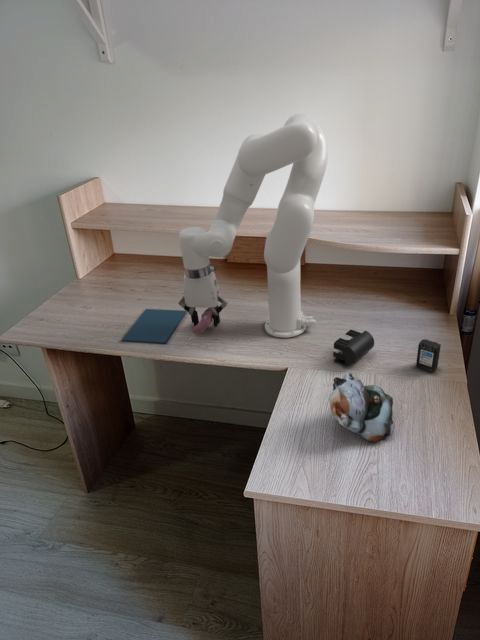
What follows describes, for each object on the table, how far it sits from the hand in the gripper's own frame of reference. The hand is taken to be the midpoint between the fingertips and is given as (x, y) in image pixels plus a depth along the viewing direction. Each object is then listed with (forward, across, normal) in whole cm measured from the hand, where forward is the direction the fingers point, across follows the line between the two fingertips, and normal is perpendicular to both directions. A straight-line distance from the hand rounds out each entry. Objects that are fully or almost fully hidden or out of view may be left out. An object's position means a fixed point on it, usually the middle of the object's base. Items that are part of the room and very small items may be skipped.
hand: (206, 324), depth 159 cm
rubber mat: (+1, +17, 0) cm, 17 cm away
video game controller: (+1, 0, 0) cm, 1 cm away
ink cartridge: (+4, -64, +15) cm, 66 cm away
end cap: (+3, -45, +12) cm, 47 cm away
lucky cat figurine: (+3, -48, +40) cm, 63 cm away
